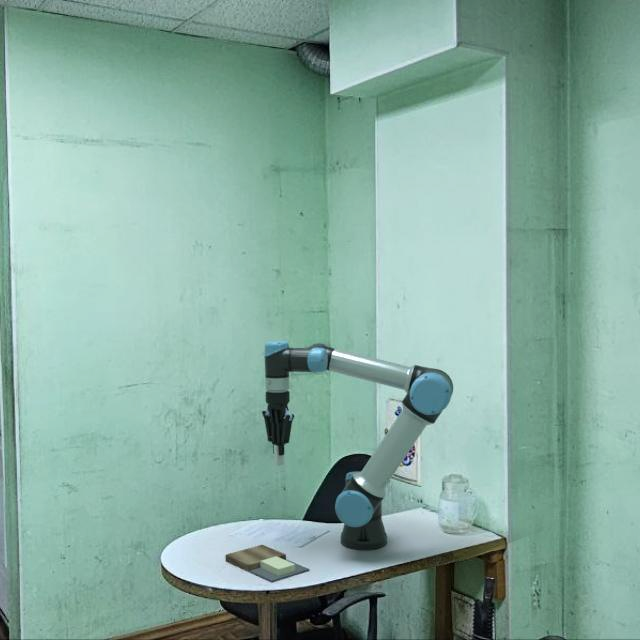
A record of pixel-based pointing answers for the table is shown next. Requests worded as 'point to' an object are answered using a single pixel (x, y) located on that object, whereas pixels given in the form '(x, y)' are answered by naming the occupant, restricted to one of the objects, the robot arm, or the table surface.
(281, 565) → the tile
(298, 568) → the mat
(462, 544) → the table surface
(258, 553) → the wooden board
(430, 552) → the table surface
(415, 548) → the table surface
